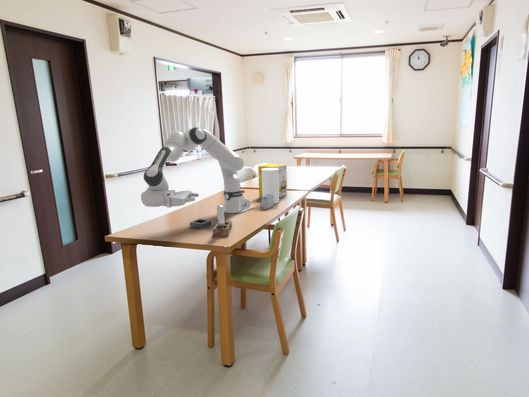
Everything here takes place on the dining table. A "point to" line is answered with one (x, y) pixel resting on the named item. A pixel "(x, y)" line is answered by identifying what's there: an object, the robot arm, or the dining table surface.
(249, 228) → the dining table surface
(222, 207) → the rod
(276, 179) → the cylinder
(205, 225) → the socket block
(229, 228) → the tool rack
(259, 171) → the packaging box
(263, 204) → the medicine box
